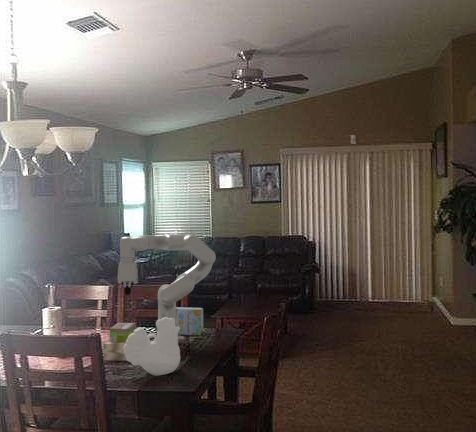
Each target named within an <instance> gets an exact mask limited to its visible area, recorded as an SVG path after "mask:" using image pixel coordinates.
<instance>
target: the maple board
mask: <svg viewBox="0 0 476 432" xmlns="http://www.w3.org/2000/svg"><path fill="white" fill-rule="evenodd" d="M125 344H126V342H110V341H107V342H106V341H105V342H104V343H103V345H102V348H103V349H102V352H103V353H102V354H103V355H104V360H103V361H127V359H126V357H125V354H124V350H123V346H124V345H125ZM103 355H102V356H103Z"/></svg>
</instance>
